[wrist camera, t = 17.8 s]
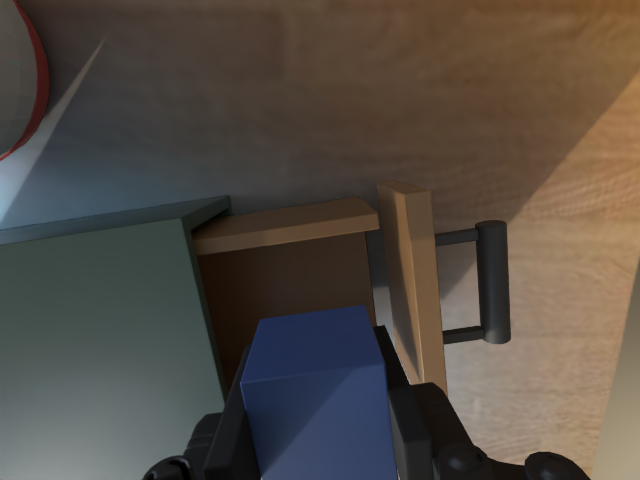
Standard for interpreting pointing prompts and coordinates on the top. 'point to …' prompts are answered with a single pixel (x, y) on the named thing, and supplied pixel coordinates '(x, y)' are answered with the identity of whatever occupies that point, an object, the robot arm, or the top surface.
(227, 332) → the drawer
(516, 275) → the top surface
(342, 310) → the block
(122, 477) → the cabinet
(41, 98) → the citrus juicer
